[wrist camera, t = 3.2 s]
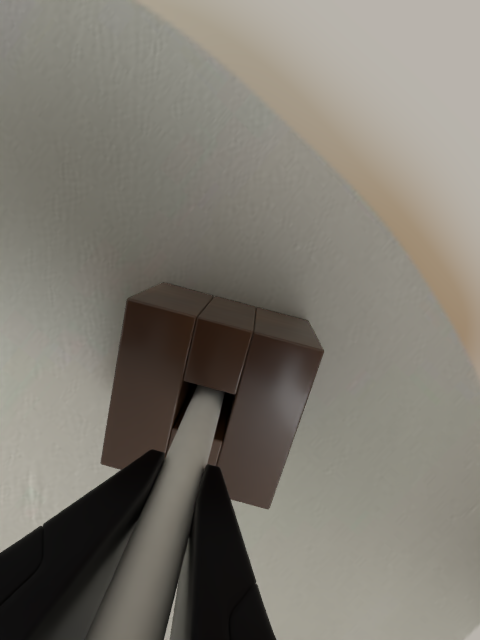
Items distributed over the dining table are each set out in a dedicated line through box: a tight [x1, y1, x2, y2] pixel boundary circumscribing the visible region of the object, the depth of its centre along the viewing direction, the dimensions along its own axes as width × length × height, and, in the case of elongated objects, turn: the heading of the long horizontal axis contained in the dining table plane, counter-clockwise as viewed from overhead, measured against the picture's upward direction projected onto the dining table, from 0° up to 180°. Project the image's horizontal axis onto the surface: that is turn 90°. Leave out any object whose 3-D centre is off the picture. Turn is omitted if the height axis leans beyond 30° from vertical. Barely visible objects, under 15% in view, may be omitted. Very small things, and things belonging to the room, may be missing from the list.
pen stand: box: [101, 282, 324, 509], centre depth 14 cm, size 7×7×4 cm
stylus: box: [85, 385, 225, 640], centre depth 9 cm, size 1×1×13 cm
